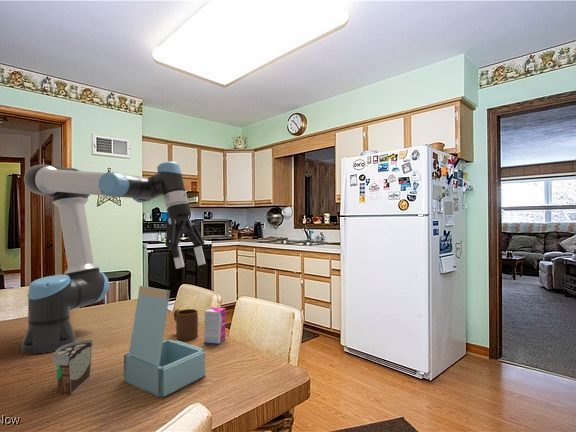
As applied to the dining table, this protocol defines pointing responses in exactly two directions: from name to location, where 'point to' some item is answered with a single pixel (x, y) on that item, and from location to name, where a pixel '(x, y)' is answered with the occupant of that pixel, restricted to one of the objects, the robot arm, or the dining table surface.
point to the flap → (149, 324)
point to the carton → (166, 369)
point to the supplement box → (214, 326)
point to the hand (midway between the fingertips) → (191, 266)
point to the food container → (73, 365)
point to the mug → (186, 324)
